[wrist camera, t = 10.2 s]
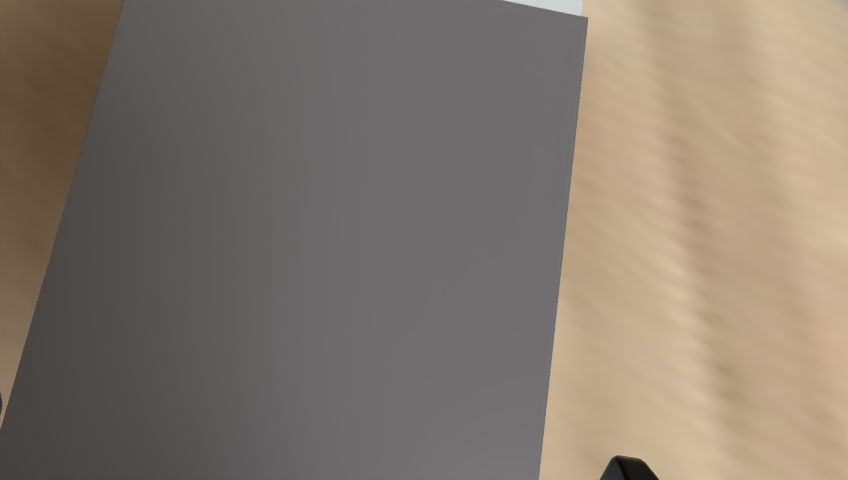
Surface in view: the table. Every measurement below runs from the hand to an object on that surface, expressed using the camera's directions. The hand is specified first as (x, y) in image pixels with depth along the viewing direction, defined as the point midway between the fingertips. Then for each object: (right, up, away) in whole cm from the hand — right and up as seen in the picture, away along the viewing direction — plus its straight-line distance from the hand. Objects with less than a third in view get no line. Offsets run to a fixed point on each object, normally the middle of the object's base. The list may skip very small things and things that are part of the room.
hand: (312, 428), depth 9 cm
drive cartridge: (-1, 0, +9) cm, 9 cm away
